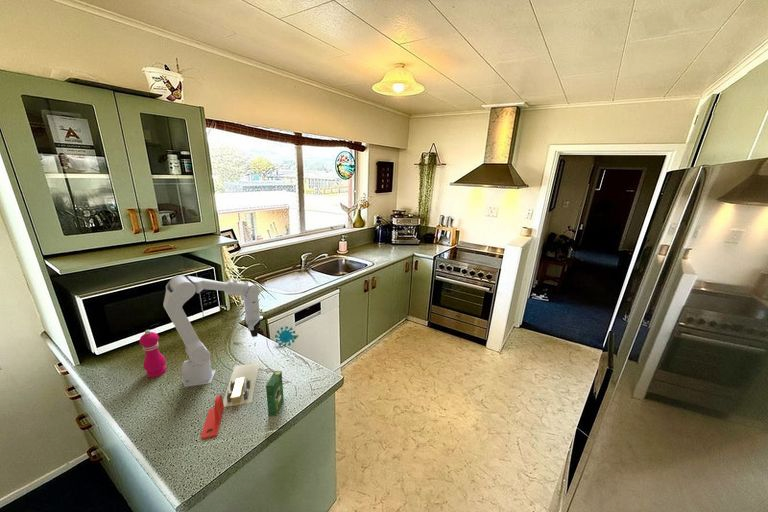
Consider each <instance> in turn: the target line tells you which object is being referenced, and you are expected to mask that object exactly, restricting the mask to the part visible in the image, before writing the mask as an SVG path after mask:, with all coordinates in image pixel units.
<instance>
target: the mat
mask: <svg viewBox="0 0 768 512" xmlns="http://www.w3.org/2000/svg"><path fill="white" fill-rule="evenodd" d="M259 367H260V362H257V363H256V362H255V363H248V364H240V365H239V364H238V365H234V367H233V370H232V372H231V373H232V374H231V376H230V380H229V382H228V385H227V388H226V392H225V395H224V397H223V404H224V408H226V407H232V406H238V405H246V404H250V403H252V401H253V396H254V393H255V392H254V391H255V388H256V387H255V386H256V383H257V377H258V371H259ZM243 377H244V378H245V387H244V389H246V379H248V378H249V379H250V380H251V386H250V389H248V393H249V395H248V399H246V400H244V395H242V399H241V403H238V404H232V400H231V402H227V392H228V391H231V389H230V384H231V383H230V382H231V381H235V382H236V379H237V378H243ZM232 393H233V391H232ZM243 394H244V391H243Z"/></svg>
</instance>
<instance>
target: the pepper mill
mask: <svg viewBox="0 0 768 512" xmlns="http://www.w3.org/2000/svg"><path fill="white" fill-rule="evenodd" d="M159 340H160V336H159V334H158V333H156V332H153V331H151V329H145V331H144V334H142V335H141V336H140V337H139V344H140V345H141V346H142V350H143V351H145V358H144V360H143V369H144V371H146V374H147V377H149V378H156V377H159V376H162V375H163V374H165V373H166V371H167V367H166V364H167V363H166V362H167V361H166V360H167V359H166V358H165V356H164V355H163V354H162V353H161V352H160V350H159V346H160V345H159Z"/></svg>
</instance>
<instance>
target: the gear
mask: <svg viewBox="0 0 768 512" xmlns="http://www.w3.org/2000/svg"><path fill="white" fill-rule="evenodd" d="M280 331H281V332H280ZM276 333H277V334H278V335H277V334H275V335H274V338H276V339H275V343H278V346H280V347H281V346H282V347H286V346H287V345H288V346H289V347H290V346H291V345H292V344H291V343H294V342H295V340H296V339H297V338H298V337H299V334H296V330H293V327H292V326H291V327H290V328H289V326H285V329H284V327H280V330H276ZM293 334H294V335H293ZM295 334H296V335H295Z"/></svg>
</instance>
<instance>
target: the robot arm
mask: <svg viewBox="0 0 768 512" xmlns="http://www.w3.org/2000/svg"><path fill="white" fill-rule="evenodd" d="M203 290H209V291H210V290H213V291H221V292H222V291H223V292H224V294H226V295H231V296H240V297H241V296H242V297H243V305H244V313H245V322H246V324H245V326H246V328H247V330H248V331H249V332H250V335H251V337H252V338H256V337H258V334H259V328H260V325H261V321H262V320H263V318H264V316H263V315H261V314H260V301H259V295H260V293H261V290H260V288H259V287H258V285H256V284H254V283H252V282H251V281H249V280H248V281H246V280H245V281H238V280H237V279H235V278H233V279H230V280H227V281H225V282H223V281H218V280H215V279H214V280H213V279H207V278H203V277H198V276H193V275H192V276H191V275H186V276H185V275H181V274H180V275H175V276H173V277H172V278H171V279H170V280H169V281H168V282H167V284H166V285H165V294H164V299H163V308H164V310H165V311H166V313H167V315H168V317H169V318H170V320H171V322H172V324H173V325H174V327H175V329H176V331H177V332H178V335H179V336H180V338H181V339H182V341H183V343H184V346H185V353H186V355H187V356H188V357H189V358H188V359H187V360H184V361H183V362H182V366H181V376H182V379H183V380H182V381H183V388H188V387H193V386H202V385H208V384H209V385H210V384H211V383H212V381H213V378H214V376H215V373H216V369H212V363H211V355H212V353H211V351H210V350H209V349H207V347H206V346H205V344H204V343H203V341H201V340H200V338H199V336H198V335H197V333H196V331H195V329H194V327H193V325H192V324H191V322H190V320H189V318H188V316H187V314H186V312H185V311H184V309H183V306H184V305H185V303H187V301H189V300H190V299H191V298H193V296H194V295H195V294H200V293H201V292H202V291H203Z"/></svg>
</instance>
